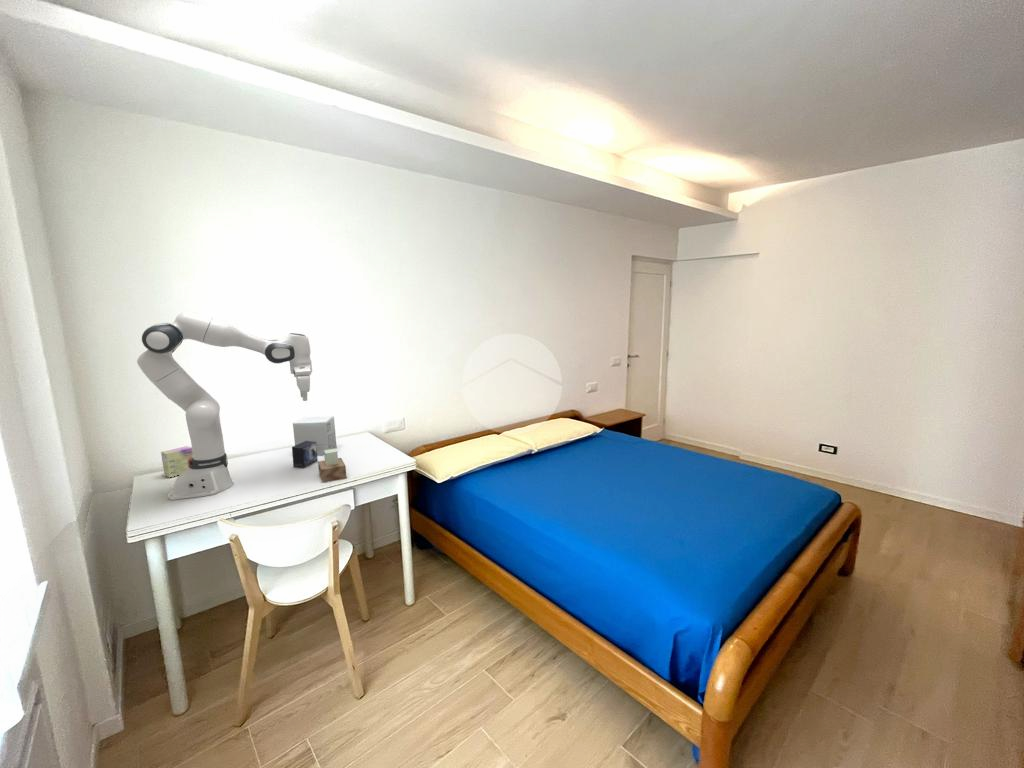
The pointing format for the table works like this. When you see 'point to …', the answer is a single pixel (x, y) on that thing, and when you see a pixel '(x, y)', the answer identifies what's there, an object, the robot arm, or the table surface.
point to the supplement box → (316, 432)
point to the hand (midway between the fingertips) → (304, 398)
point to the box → (176, 460)
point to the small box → (304, 454)
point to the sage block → (331, 457)
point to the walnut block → (332, 471)
